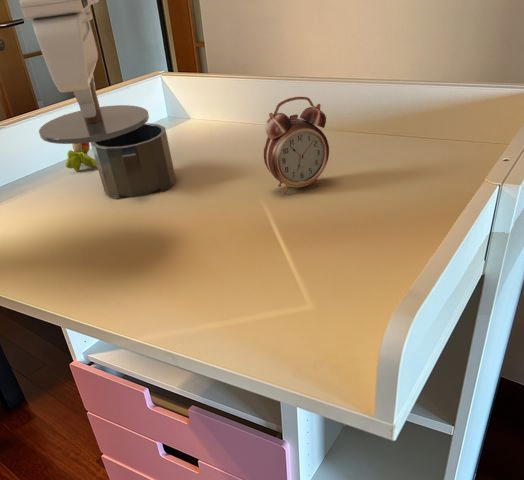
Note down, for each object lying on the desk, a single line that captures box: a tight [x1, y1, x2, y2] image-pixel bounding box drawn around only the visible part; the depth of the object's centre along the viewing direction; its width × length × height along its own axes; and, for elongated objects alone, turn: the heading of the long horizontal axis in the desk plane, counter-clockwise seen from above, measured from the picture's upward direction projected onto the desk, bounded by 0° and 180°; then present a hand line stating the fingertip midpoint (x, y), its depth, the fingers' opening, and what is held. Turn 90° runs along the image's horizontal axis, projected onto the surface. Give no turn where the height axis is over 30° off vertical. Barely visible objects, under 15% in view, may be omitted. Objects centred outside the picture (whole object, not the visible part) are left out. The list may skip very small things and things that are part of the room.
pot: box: [90, 122, 177, 201], centre depth 105 cm, size 14×19×10 cm
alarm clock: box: [263, 96, 330, 195], centre depth 95 cm, size 11×5×15 cm, turn 112°
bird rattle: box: [65, 143, 97, 172], centre depth 118 cm, size 6×11×9 cm
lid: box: [38, 83, 150, 145], centre depth 74 cm, size 15×15×6 cm
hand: (91, 112), depth 75 cm, fingers closed on lid, 2 cm apart
